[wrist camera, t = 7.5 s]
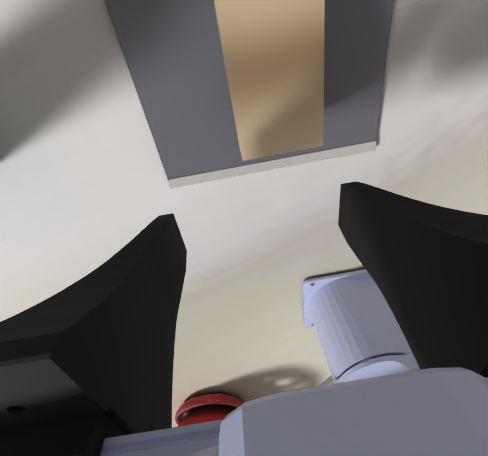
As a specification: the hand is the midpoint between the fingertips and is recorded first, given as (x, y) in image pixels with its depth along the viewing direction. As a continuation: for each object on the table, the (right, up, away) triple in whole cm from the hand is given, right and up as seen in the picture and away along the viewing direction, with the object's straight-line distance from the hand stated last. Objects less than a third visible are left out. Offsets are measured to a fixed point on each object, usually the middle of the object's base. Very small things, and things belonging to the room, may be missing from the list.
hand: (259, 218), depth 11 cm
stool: (+1, +9, +5) cm, 11 cm away
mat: (+1, +9, +6) cm, 11 cm away
